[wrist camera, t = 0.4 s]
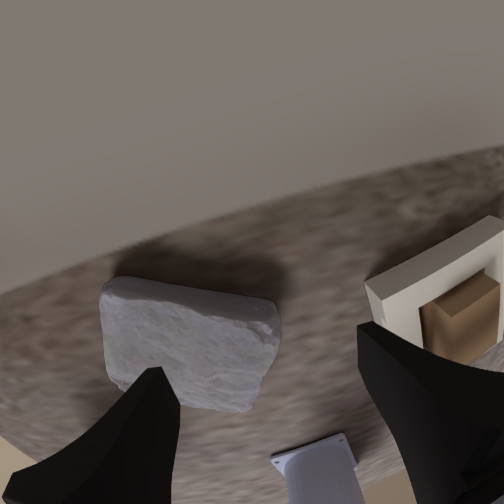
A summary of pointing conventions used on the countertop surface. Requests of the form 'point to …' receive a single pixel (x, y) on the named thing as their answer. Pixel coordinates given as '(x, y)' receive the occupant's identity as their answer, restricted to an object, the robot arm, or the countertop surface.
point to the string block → (463, 319)
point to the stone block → (189, 340)
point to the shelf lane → (437, 277)
